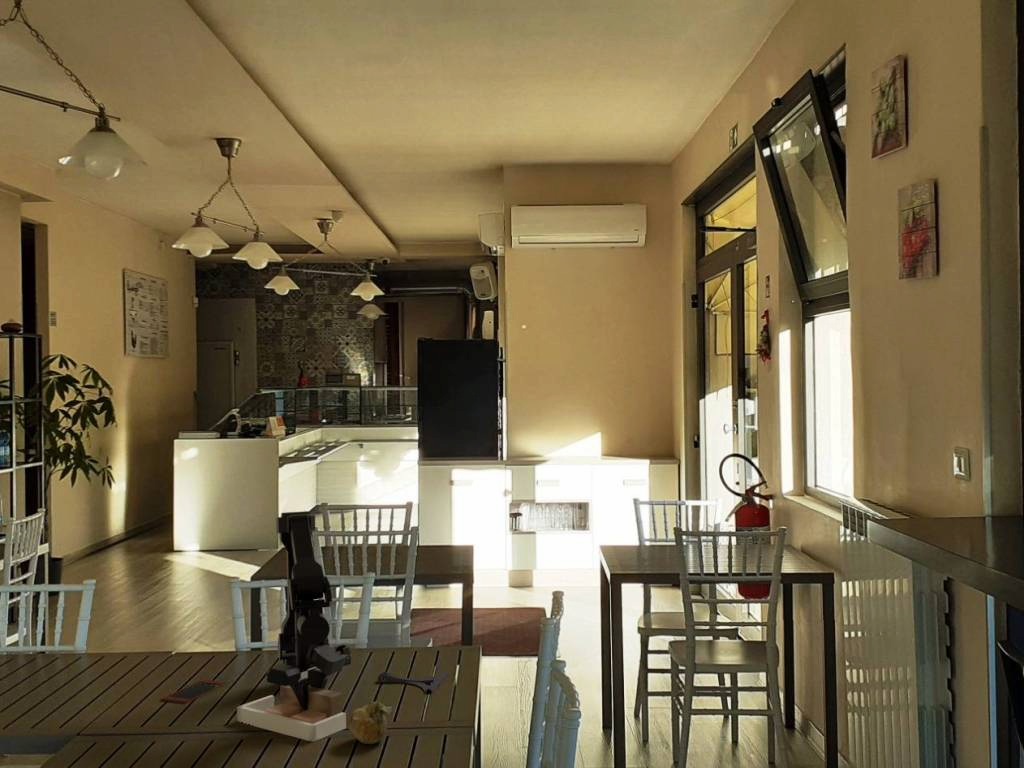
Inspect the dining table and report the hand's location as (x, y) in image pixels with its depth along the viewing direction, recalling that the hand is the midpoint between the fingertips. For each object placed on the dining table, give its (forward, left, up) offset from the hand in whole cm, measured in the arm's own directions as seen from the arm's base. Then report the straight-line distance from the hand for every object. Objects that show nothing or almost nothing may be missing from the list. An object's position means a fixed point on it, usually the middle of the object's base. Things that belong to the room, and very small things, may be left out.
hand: (310, 707), depth 209 cm
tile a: (-4, -4, -2) cm, 6 cm away
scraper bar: (0, 0, -1) cm, 1 cm away
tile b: (+4, -4, -2) cm, 6 cm away
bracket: (+2, +29, -3) cm, 29 cm away
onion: (+20, -4, -2) cm, 21 cm away
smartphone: (-35, -2, -3) cm, 35 cm away
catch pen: (0, -6, -2) cm, 6 cm away
